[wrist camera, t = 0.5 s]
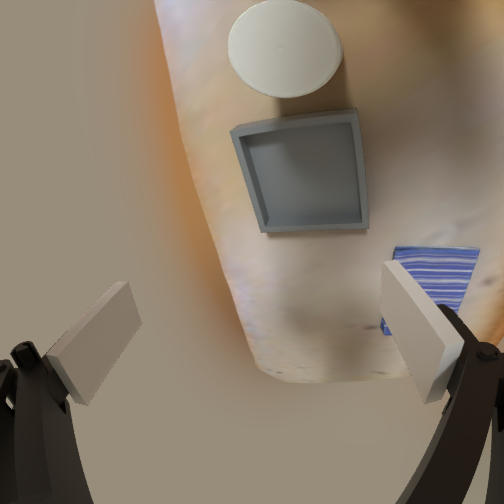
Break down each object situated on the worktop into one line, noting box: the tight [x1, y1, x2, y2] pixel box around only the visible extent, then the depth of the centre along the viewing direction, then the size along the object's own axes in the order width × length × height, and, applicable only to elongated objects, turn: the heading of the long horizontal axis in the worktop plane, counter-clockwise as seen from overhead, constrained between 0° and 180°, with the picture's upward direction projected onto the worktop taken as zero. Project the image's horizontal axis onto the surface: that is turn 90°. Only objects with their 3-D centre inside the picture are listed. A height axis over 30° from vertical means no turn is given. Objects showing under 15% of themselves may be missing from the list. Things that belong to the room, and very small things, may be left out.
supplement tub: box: [228, 0, 343, 98], centre depth 24 cm, size 10×10×15 cm
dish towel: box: [381, 246, 480, 335], centre depth 47 cm, size 17×24×3 cm
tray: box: [230, 108, 369, 233], centre depth 39 cm, size 17×17×3 cm
